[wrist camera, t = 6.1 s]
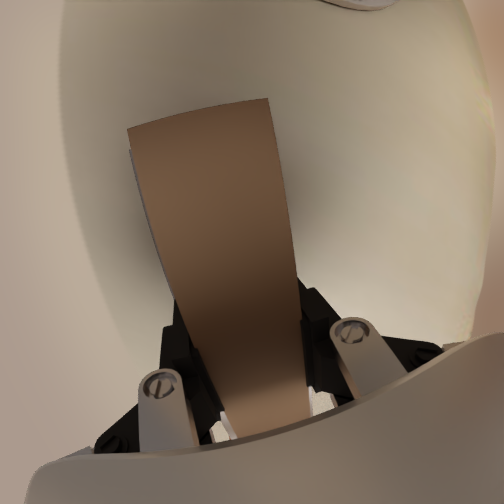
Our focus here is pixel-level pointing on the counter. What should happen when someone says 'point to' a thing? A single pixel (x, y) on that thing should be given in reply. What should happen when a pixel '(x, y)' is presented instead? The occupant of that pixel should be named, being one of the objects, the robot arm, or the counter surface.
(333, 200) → the counter surface
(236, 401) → the scraper
